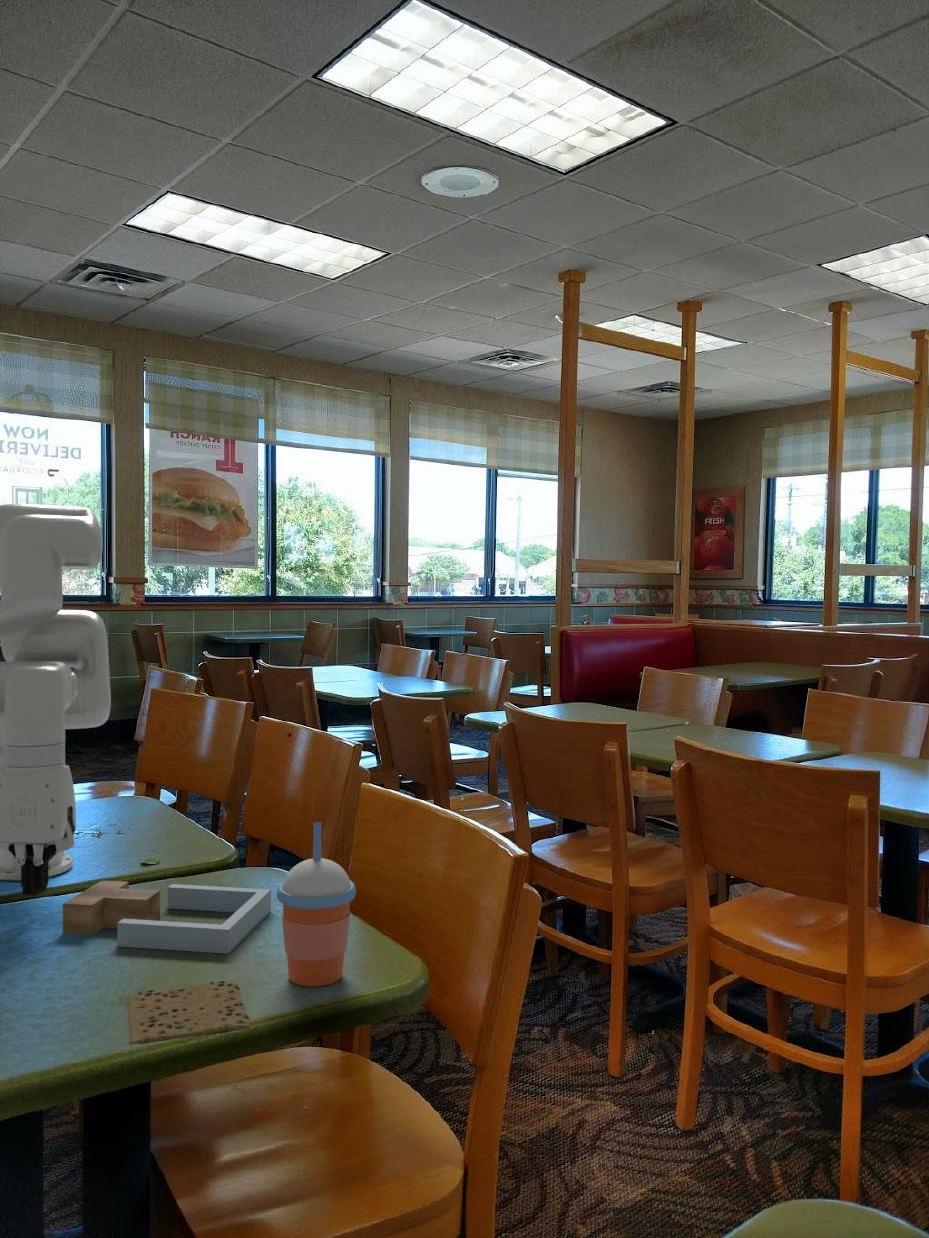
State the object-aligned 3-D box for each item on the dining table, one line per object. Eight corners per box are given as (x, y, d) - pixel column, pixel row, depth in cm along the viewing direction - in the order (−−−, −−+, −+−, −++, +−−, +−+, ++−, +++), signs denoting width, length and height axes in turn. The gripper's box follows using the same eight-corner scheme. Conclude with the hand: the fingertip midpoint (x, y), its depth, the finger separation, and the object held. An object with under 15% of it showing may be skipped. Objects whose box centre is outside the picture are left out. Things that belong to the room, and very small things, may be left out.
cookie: (125, 999, 105) (125, 990, 105) (237, 985, 110) (237, 977, 110) (127, 1049, 94) (127, 1039, 94) (251, 1031, 98) (252, 1022, 98)
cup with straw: (349, 993, 107) (350, 834, 106) (268, 992, 107) (269, 832, 106) (359, 962, 116) (361, 815, 115) (284, 960, 116) (286, 813, 116)
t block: (101, 908, 134) (101, 880, 134) (169, 912, 133) (169, 883, 132) (63, 934, 124) (62, 903, 124) (136, 938, 123) (135, 907, 123)
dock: (172, 904, 136) (172, 883, 136) (270, 910, 134) (271, 889, 134) (117, 946, 120) (117, 922, 120) (228, 953, 118) (228, 929, 118)
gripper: (-35, 759, 126) (-35, 898, 126) (72, 761, 124) (72, 903, 124) (0, 751, 133) (0, 883, 133) (101, 753, 132) (101, 887, 132)
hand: (34, 892), depth 129 cm, fingers closed
